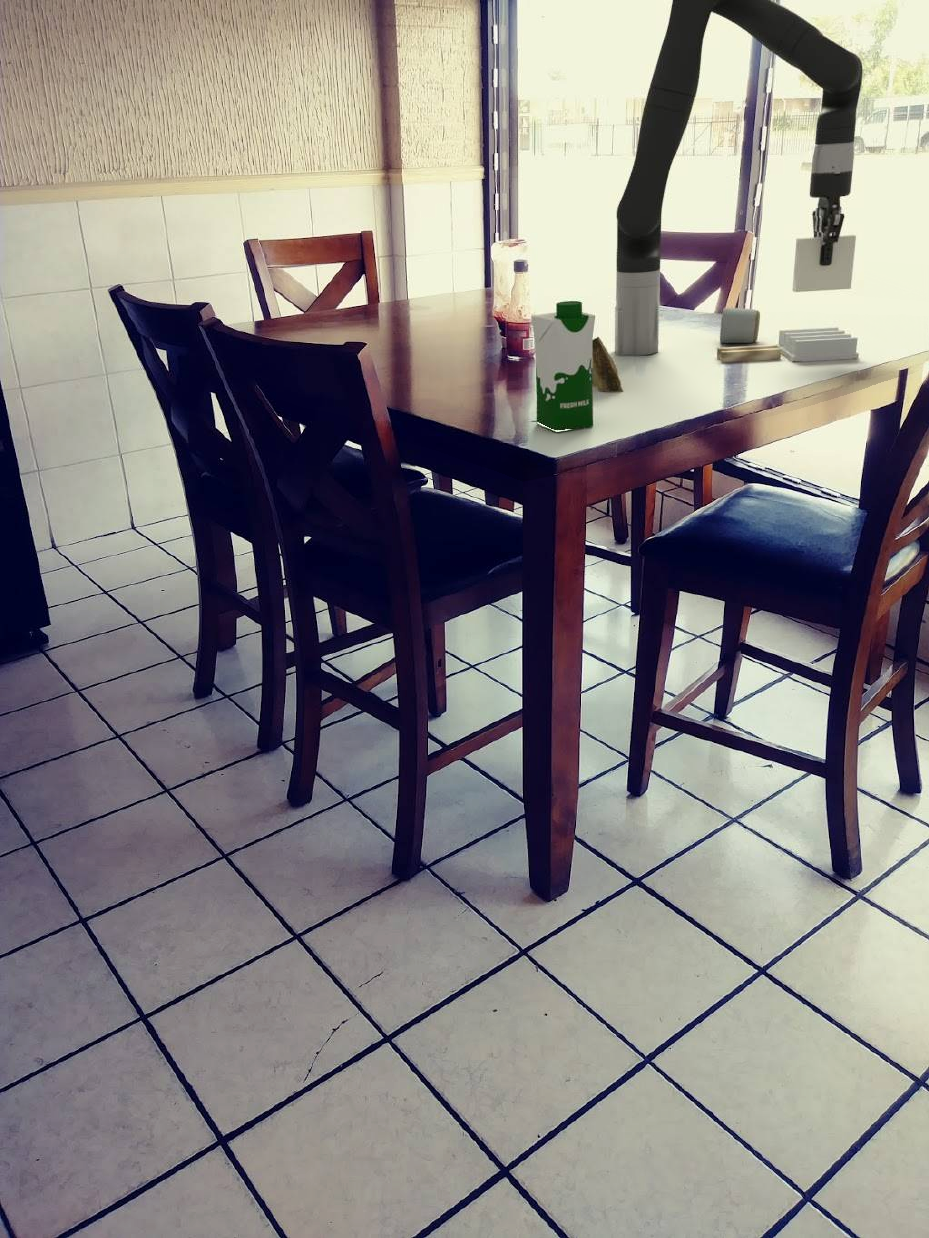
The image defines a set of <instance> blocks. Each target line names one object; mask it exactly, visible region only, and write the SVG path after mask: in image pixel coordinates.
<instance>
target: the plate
mask: <svg viewBox="0 0 929 1238" xmlns="http://www.w3.org/2000/svg"><path fill="white" fill-rule="evenodd" d="M856 240H857V235H855V234H851V235H850V234H848V235H839V239H838V242H835V245H833V253H832V263H831V265H827V266H821V265H820V252H821V237H814V236H813V237H812V236H811V237H801V238H800V237H797V238H796V242H795V253H794V254H795V255H794V264H793V265H794V267H793V281H792V292H794V293H804V292H819V291H820V292H821V291H835V290H836V291H837V290H851V289H852V287H851V286H852V280H853V269H854V260H855V251H856Z"/></svg>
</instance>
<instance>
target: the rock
mask: <svg viewBox="0 0 929 1238" xmlns="http://www.w3.org/2000/svg"><path fill="white" fill-rule="evenodd" d="M592 369H593V384H594V385H595V386H596V387H597V388H598V389H597V388H596V387H595V386H594V385H593V386H594V387H595V388H596V389H597V390H598V391H600V390H602V391H601V392H609V391H623V390H624V389H623V387H622V383H621V379H620V378H619V374H618V372H619V371H618V368H617V366H616V364H615V362H614V360H613V358H612V356H611V355H610V353H609V352H608V349H607V347H606V346H605V345H604V343H603V341H602V339H601V338H600V337H599V336H597V337H596V338H593V340H592ZM623 392H624V391H623Z"/></svg>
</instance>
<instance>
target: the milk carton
mask: <svg viewBox="0 0 929 1238" xmlns="http://www.w3.org/2000/svg"><path fill="white" fill-rule="evenodd" d="M555 308H556V309H555V310H556V312H547V313H541V314H533V315H530V317H531V324H532V330H533V331H532V332H533V339H534V350H535V351H534V352H535V353H534V354H535V384H536V385H535V386H536V423H537V422H539V423H541V424H543V425H545V426H547V427H549V428H551V429H554V430H565V429H577V428H582V429H587V428H586V427H588V428H592V427H591V426H593V427H594V397H593V388H594V387H593V386H594V385H593V369H592V340H593V339H594V331H595V320H596V315H595V314H592V313H587V312H584V311H583V302H582V301H578V300H568V301H566V300H565V301H561V302H560V301H559V302H556V307H555ZM584 427H585V428H584ZM577 430H578V429H577Z"/></svg>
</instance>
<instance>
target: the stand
mask: <svg viewBox="0 0 929 1238" xmlns="http://www.w3.org/2000/svg"><path fill="white" fill-rule="evenodd" d="M716 349H717V350H716V359H720V362H721V363H728V362H729V363H731V362H733V363H734V362H735V363H736V362H752V361H767V360H768V361H769V360H770V361H771V360H781V358H782V354H781V348H777V346H776V344H768V345H767V344H766V345H765V344H763V345H762V344H761V345H747V346H746V345H745V346H744V345H743V346H729V347H728V346H726V347H717V348H716Z"/></svg>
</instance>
